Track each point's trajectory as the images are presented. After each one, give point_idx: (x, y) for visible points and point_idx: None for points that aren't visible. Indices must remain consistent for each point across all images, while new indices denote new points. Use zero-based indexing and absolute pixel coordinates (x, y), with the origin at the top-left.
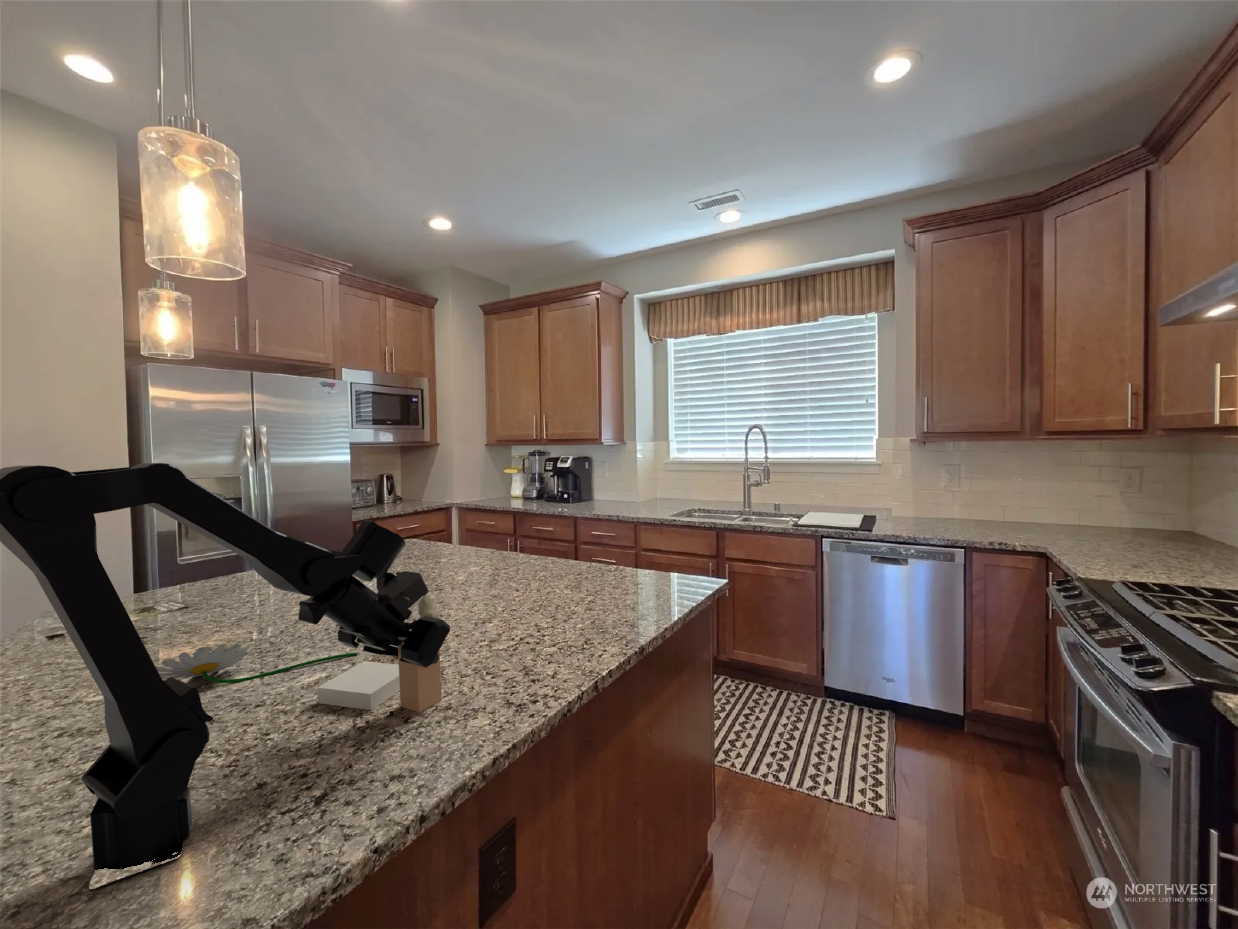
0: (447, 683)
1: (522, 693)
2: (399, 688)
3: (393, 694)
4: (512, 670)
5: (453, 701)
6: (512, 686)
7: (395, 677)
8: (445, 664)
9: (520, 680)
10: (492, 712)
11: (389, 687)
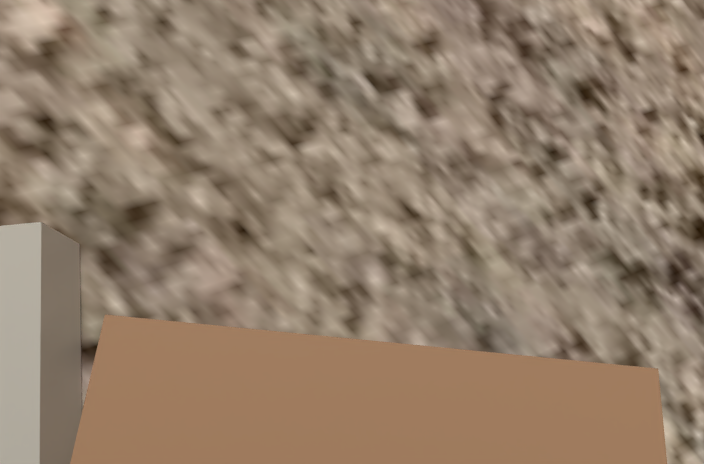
0: (271, 213)
1: (621, 192)
2: (75, 365)
3: (80, 416)
4: (456, 39)
5: (423, 345)
6: (550, 155)
7: (34, 395)
8: (116, 53)
9: (542, 104)
10: (631, 360)
11: (55, 456)
